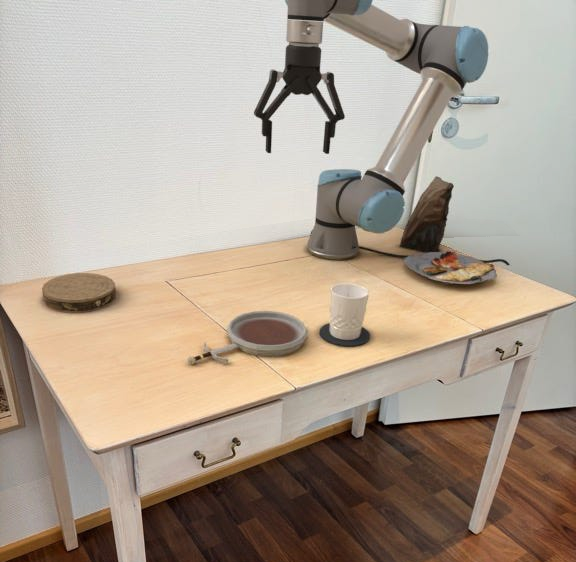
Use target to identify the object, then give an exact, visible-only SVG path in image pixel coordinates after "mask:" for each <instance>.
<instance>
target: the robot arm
mask: <svg viewBox="0 0 576 562" xmlns="http://www.w3.org/2000/svg"><path fill="white" fill-rule="evenodd" d="M373 1H374V0H284V2H285V4H286V6H287V12H286V13H287V14H286V15H287V18H286V34H285V35H286V37H285V41H286V43H288V45H286V47H285V57H284V69H283V71H279V70H276V69H274V68H273V69H270V71H269V75H268V82H267V83H266V85H265V88H264V90H263V92H262V94H261V96H260V98H259V101H258V102H257V104H256V106H255V109H254V111H253V115H254V116H255V117H256V118H258V119H260V120H261V135H262V136H263V137H265V152H266V153H267V154H272V138H273V137H272V136H273V121H272V120H271V117H272V116H273V115H274V114H275V113H276V112H277V110H278V109H279V108H280V107H281V105H282V104H283V103H284V102H285V101H286V99H287V98H288V97H289V96H290V95H291V94H293V95H296V96H299V95H304V96H310V95H312V96H313V97H314V99H315V100H316V102H317V104H318V106H319V107H320V109H321V110H322V111H323V113H324V114H325V116H326V118H327V119H328V120H325V121H324V131H323V132H324V134H323V146H322V152H323V154H326V155H330V149H331V138H332V139H334V138H335V136H336V126H337V123H338V122H339V121H343V120H345V117H346V115H345V113H344V110H343V107H342V104H341V100H340V98H339V94H338V92H337V89H336V86H335V74H334V73H333V72H331V71H327V72H324V73H321V63H322V61H321V60H322V48H321V47H320V45H321V44H322V43H323V35H324V34H323V32H324V31H323V30H324V23H326V24H328V25H330V26H333V27H335V28H337V29H338V30H341V31H343V32H345V33H347V34H349V35H351V36H353V37H355V38H357V39H359V40H361V41H362V42H364V43H367V44H369V45H372V46H373V47H375V48H378V49H379V50H381V51H383V52H385V54H386V56H387V58H388V59H390V61H391V60H392V61H394V62H395V63H398V64H399V65H401V66H403V67H405V68H406V69H409V70H410V71H412V72H414V73H416V74H419V75H420V77H421V82H420V84H419V86H418V88H417V90H416V92H415V93H414V95H413V97H412V99H411V100H410V102H409V105H408V106H407V107H406V110H405V111H404V114H403V115H402V116H401V119H400V121H399V122H398V125H397V126H396V128H395V130H394V132H393V133H392V135H391V137H390V139H389V140H388V143H387V144H386V146H385V148H384V150H383V152H382V153H381V155H380V157H379V158H378V161H377V162H376V164H375V166H374V167H371V168H368V169H366V171H365V172H364V174H363V176H362V172H361V170H358V169H352V168H338V169H337V168H336V169H327V170H323V171H322V172H321V173H319V176H318V182H317V185H316V187H317V189H316V190H317V191H316V206H315V218H314V225H313V228H312V230H311V231H310V235H309V238H308V240H307V244H306V252H307V253H309V254H310V255H312V256H314V257H317V258H320V259H323V260H324V259H325V260H332V261H343V260H350V259H354V258H355V257H357V256H358V255H359V251H360V250H364V251H368V252H371V253H375V254H379V255H383V256H389V257H395V258H403V259H405V258H406V257H408V256H413V255H414V254H412V255H407V254H395V253H389V252H385V251H381V250H376V249H373V248H369V247H365V246H360V244H359V239H358V235H357V230H356V229H357V228H356V227H358V228H360V229H361V230H363V231H364V232H368V233H373V234H377V235H380V234H384V233H386V232H389V231H391V230H392V229H394V228H395V227H396V226H397V225H398V223H399V222H400V221H401V219H402V218H403V214H404V212H405V208H404V207H405V206H406V205H405V204H406V202H405V198H404V194H405V193H406V189H405V185H404V184H405V181H406V179H407V178H408V176H409V174H410V172H411V171H412V169H413V166H414V165H415V163H416V161H417V160H418V158H419V156H420V155H421V153H422V151H423V149H424V147H425V145H426V144H427V142H428V140H429V139H430V137H431V136H432V133H433V131H434V129H435V128H436V126H437V124H438V122H439V120H440V119H441V117H442V115H443V114H444V111H445V109H446V108H447V106H448V104H449V103H450V101H451V99H452V98H455V97H457V96H460V95H461V93H463V90H464V88H465V86H466V85H467V84H471V83H475V82H477V81H478V80H479V79H480V78H481V77H482V76H483V74H484V72H485V71H486V68H487V65H488V62H489V61H488V60H489V42H488V38H487V35H486V34H485V33H484V32H483V31H482V29H479V28H477V27H472V26H471V27H470V26H469V25H464V26H455V25H441V24H425V23H418V22H415V21H413V20H411V19H409V18H402V19H399V18H397V17H395V16H394V15H392V14H390V13H388V12H386V11H384V10H382V9H381V8H380V7H377V6H375V5H374V4H372V3H373ZM281 79H282V80H283V81H284V83H285V85H284V86H283V87H282V89H281V90H280V92H279V93H278V94H277V96H275V98H274V99H273V100H272V102H271V103H270V104H269V106H268V107H266V106H267V104H268V102H269V100H270V98H271V96H272V94H273V92H274V89H275V87H276V85H277V83H280V80H281ZM321 81H322V82H323V84H325V86H326V89H327V93H328V95H329V98H330V101H331V104H332V106H333V110H332V109H331V107H330V106H329V104H328V102H327V101H326V100H325V98H324V96H323V94H322V92H321V91H320V89H319V88H318V85H319V84H320V82H321ZM265 108H266V109H265ZM264 110H265V111H264ZM333 111H334V112H333ZM334 113H335V114H334ZM480 260H481V261H482V262H484V263H486V264H493V263H497V262H498V263H500V262H501V263H504V264H505V265H506V266H511V264H510V263H509V262H508V260H505V259H503V258H497V259H488V260H484V259H480Z"/></svg>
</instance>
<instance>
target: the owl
mask: <svg viewBox="0 0 576 562" xmlns="http://www.w3.org/2000/svg"><path fill="white" fill-rule="evenodd" d="M454 188H455V186H454V184H453V183H452V182H448V181H445V180H443V179H442V178H441V176H440V177H439V176H435V177H434V178H433V180H432V181H431V182H430V183H429V184H428V186H427V188H425V190H424V191H423V192H422V193H421V195H420V197H419V199H418V201H417V203H416V205H415V207H414V209H413V210H412V212H411V215H410V216H409V219H408V220H407V222H406V224H405V228H404V230H403V232H402V235H401V238H400V244H399V248H403V249H408V250H412V251H413V250H414V251H417V252H420V253H426V252H428V253H429V252H441V250H440V246H441V242H442V241H443V238H444V236H445V232H446V231H445V230H446V227H447V221H448V215H449V213H450V211H449V209H450V207H449V206H450V201H451V199H452V197H453V196H452V195H453V193H452V192H453V189H454Z"/></svg>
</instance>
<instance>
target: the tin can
mask: <svg viewBox="0 0 576 562" xmlns="http://www.w3.org/2000/svg"><path fill="white" fill-rule="evenodd" d="M41 293H42V298H43V302H44V305H45V307H48V308H49V309H51V310H53V311H56V312H61V313H69V314H77V313H89V312H94V311H97V310H101V309H104V308H106V307H108V306H110V305H111V304H113V303H114V302H115V301H116V298H117V291H116V283H115V281H114V280H113V278H111V277H108V276H106V275H102V274H99V273H92V272H75V273H70V274H69V273H68V274H63V275H60V276H55V277H54V278H51V279H49V280H48V281H46V282H45V283H44V284H43V285H42V288H41Z"/></svg>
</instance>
